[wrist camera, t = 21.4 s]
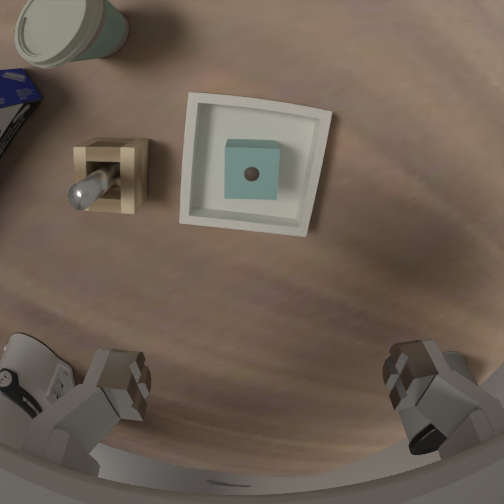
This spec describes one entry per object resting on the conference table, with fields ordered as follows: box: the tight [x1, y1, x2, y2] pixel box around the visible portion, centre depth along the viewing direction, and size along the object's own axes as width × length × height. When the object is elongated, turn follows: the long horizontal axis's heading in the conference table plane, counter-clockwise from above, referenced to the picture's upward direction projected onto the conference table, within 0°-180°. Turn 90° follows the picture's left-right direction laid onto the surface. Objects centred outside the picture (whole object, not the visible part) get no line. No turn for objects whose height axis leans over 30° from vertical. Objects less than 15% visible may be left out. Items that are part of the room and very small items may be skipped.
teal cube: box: [224, 139, 280, 200], centre depth 30 cm, size 5×5×5 cm
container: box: [398, 351, 478, 455], centre depth 49 cm, size 19×19×15 cm
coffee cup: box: [15, 0, 129, 68], centre depth 19 cm, size 8×8×12 cm
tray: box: [179, 92, 332, 237], centre depth 32 cm, size 14×14×3 cm
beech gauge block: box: [73, 138, 149, 214], centre depth 30 cm, size 7×7×5 cm
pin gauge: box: [68, 162, 120, 210], centre depth 28 cm, size 2×2×10 cm
